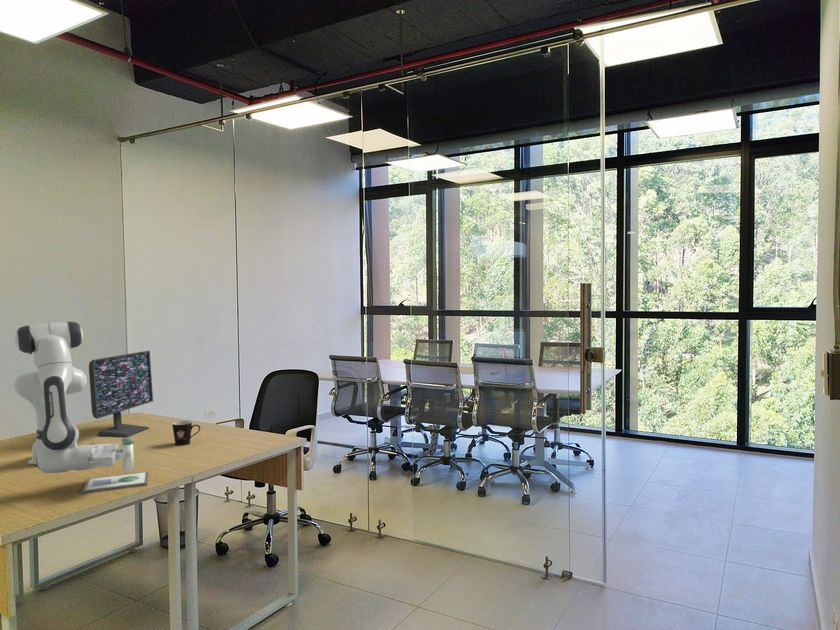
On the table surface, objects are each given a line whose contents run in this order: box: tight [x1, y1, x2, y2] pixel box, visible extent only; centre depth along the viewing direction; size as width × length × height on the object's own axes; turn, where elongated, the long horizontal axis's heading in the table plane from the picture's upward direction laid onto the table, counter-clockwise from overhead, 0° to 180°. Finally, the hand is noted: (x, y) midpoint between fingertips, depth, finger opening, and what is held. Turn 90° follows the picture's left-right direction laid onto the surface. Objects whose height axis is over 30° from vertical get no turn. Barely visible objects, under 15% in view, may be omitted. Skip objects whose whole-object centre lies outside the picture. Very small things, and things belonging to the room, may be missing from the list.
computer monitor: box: [88, 350, 154, 438], centre depth 294 cm, size 44×16×40 cm, turn 171°
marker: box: [121, 436, 135, 472], centre depth 217 cm, size 4×4×12 cm
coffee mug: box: [172, 420, 201, 447], centre depth 271 cm, size 12×9×10 cm
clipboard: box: [81, 471, 149, 494], centre depth 216 cm, size 15×21×1 cm
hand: (130, 452), depth 217 cm, fingers closed on marker, 4 cm apart
